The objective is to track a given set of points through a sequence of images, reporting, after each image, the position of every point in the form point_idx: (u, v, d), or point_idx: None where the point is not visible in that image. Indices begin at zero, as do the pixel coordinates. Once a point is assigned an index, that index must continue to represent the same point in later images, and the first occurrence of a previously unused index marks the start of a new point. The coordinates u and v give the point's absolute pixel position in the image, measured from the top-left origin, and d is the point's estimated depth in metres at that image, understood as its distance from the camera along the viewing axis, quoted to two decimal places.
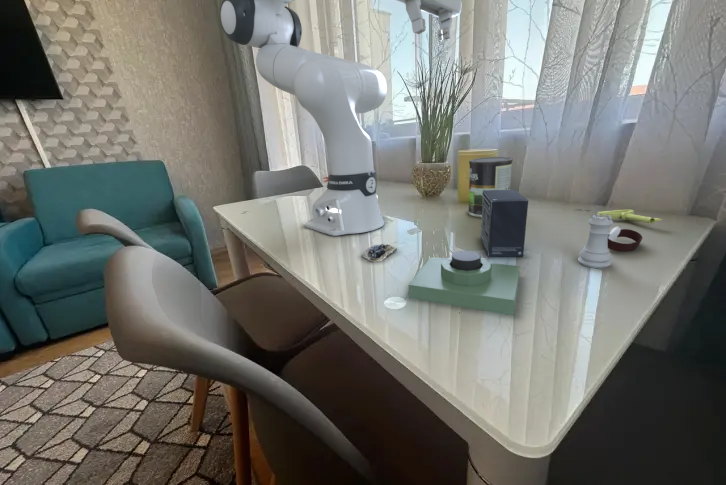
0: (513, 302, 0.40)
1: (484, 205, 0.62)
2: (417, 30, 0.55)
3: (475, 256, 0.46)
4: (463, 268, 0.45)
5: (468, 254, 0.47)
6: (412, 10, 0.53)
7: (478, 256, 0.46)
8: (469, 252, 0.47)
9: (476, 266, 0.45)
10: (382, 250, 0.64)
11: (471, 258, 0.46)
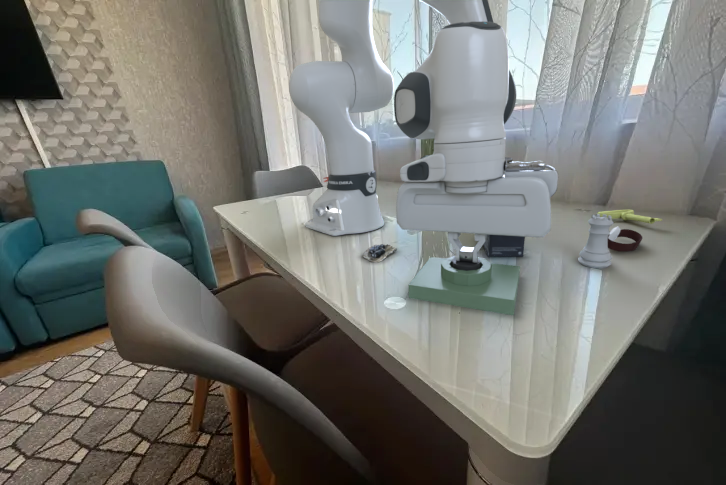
0: (513, 302, 0.40)
1: None
2: None
3: None
4: None
5: None
6: None
7: (478, 261, 0.46)
8: None
9: None
10: (382, 250, 0.64)
11: (470, 263, 0.46)
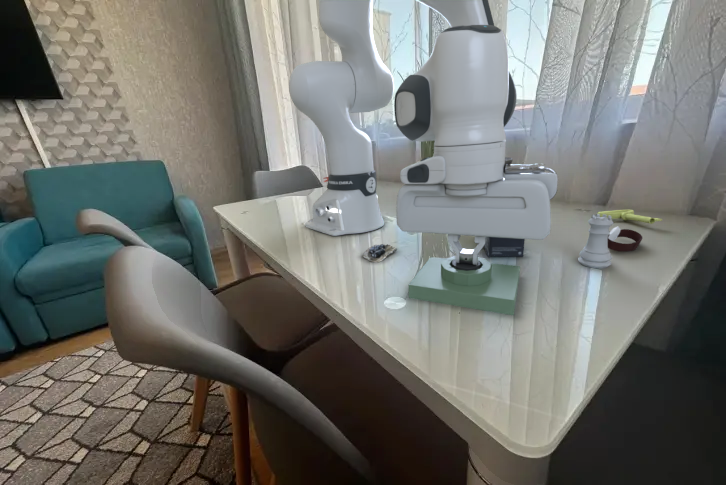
0: (513, 302, 0.40)
1: None
2: None
3: None
4: None
5: None
6: None
7: (478, 263, 0.46)
8: None
9: None
10: (382, 250, 0.64)
11: (470, 265, 0.46)
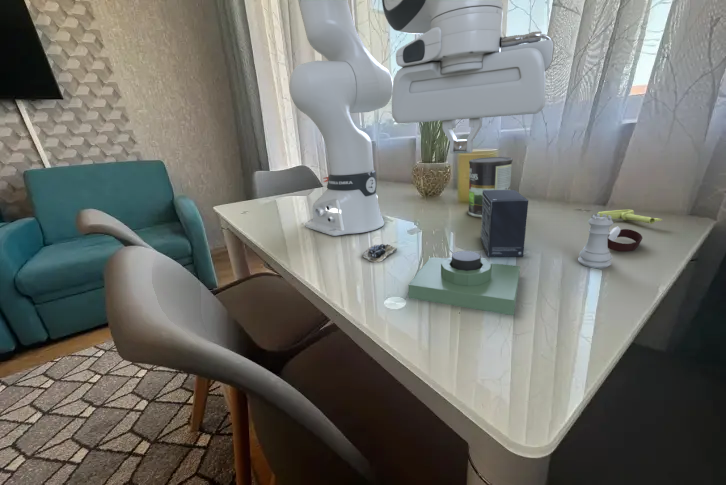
0: (513, 302, 0.40)
1: (484, 205, 0.62)
2: None
3: (475, 256, 0.46)
4: (463, 268, 0.45)
5: (468, 254, 0.47)
6: None
7: (478, 256, 0.46)
8: (469, 252, 0.47)
9: (476, 266, 0.45)
10: (382, 250, 0.64)
11: (471, 258, 0.46)
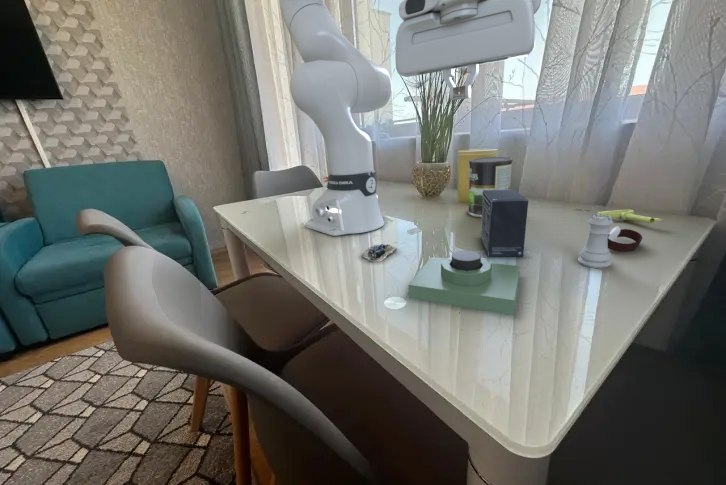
0: (513, 302, 0.40)
1: (484, 205, 0.62)
2: None
3: (475, 256, 0.46)
4: (463, 268, 0.45)
5: (468, 254, 0.47)
6: None
7: (478, 256, 0.46)
8: (469, 252, 0.47)
9: (476, 266, 0.45)
10: (382, 250, 0.64)
11: (471, 258, 0.46)
